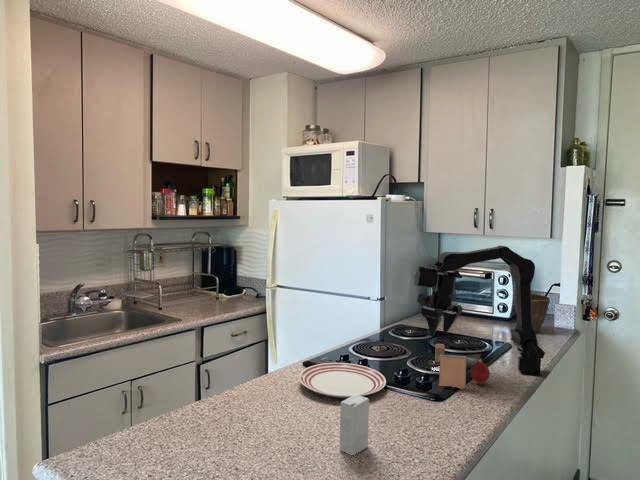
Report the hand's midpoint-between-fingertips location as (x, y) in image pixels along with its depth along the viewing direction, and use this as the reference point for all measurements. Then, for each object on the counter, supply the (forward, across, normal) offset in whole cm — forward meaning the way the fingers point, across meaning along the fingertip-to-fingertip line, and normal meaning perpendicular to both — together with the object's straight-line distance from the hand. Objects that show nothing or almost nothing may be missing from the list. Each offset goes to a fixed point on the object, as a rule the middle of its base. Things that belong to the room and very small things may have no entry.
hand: (438, 334), depth 163 cm
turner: (+13, -8, -2) cm, 15 cm away
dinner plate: (+18, +30, -15) cm, 38 cm away
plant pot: (+7, -79, +4) cm, 80 cm away
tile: (+13, +7, +11) cm, 18 cm away
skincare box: (+18, +58, +12) cm, 62 cm away
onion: (+12, -2, +16) cm, 20 cm away
